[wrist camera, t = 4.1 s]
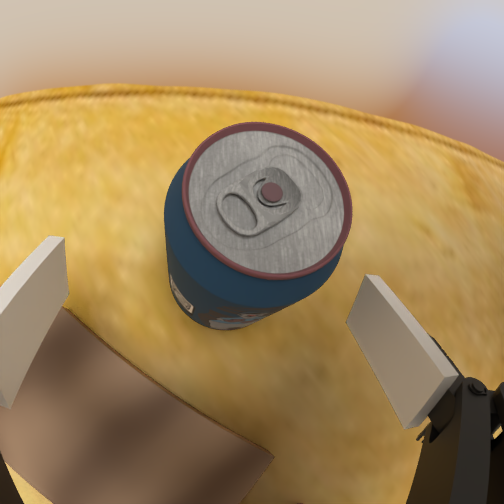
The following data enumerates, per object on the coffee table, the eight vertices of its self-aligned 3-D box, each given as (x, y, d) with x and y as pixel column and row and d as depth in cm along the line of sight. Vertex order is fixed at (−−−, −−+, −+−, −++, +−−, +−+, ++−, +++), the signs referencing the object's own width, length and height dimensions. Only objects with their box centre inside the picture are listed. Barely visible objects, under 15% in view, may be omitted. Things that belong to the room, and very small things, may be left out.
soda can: (233, 213, 23) (285, 90, 12) (292, 292, 22) (400, 224, 11) (149, 264, 20) (123, 157, 9) (210, 353, 19) (253, 348, 8)
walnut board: (268, 450, 18) (274, 456, 16) (175, 562, 13) (176, 573, 12) (68, 309, 18) (60, 305, 17) (-10, 432, 13) (-20, 435, 12)
